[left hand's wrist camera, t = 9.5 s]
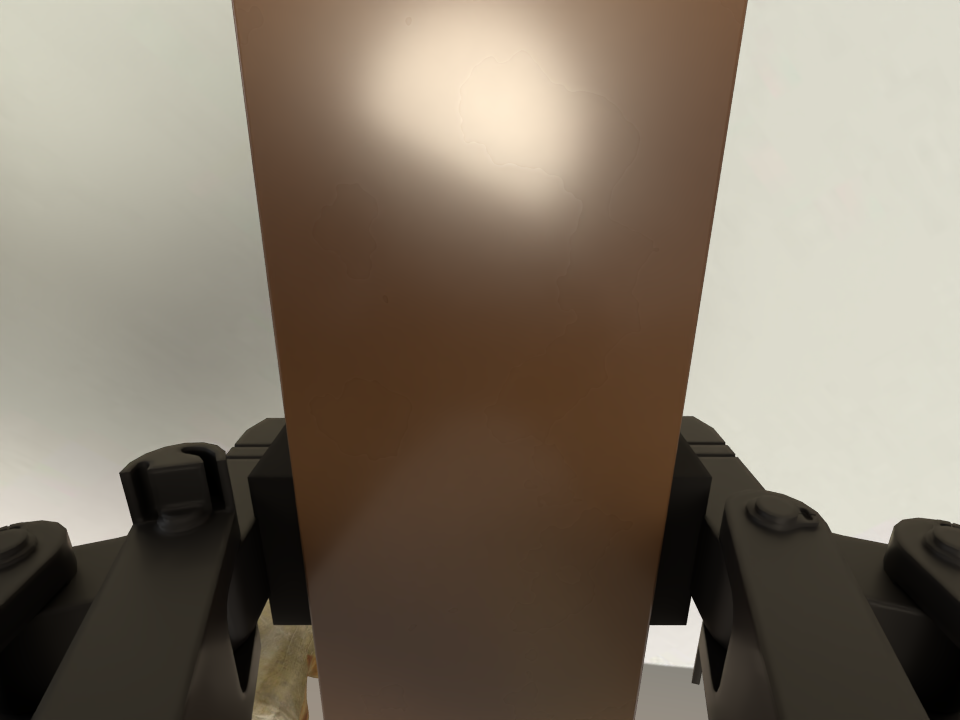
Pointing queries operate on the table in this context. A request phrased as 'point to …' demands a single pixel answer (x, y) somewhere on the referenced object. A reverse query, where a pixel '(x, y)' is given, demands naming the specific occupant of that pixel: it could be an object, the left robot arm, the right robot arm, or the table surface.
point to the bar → (484, 330)
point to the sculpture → (283, 670)
